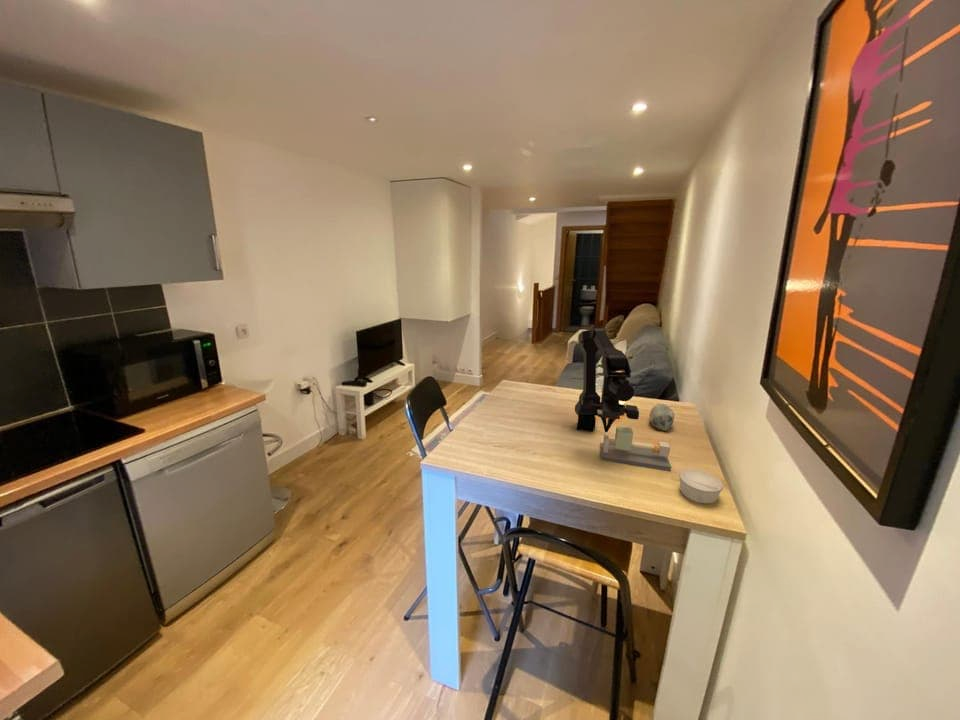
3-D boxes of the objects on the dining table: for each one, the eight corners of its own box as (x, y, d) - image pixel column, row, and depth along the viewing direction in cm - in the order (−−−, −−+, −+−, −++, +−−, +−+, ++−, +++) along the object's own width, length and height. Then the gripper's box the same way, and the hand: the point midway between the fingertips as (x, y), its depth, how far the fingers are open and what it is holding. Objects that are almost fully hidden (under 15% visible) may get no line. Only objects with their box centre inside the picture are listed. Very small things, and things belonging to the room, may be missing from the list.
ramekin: (689, 506, 107) (692, 490, 105) (669, 483, 118) (672, 468, 116) (728, 507, 107) (732, 491, 105) (705, 483, 118) (708, 468, 116)
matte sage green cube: (615, 448, 130) (617, 431, 128) (614, 442, 134) (616, 425, 132) (630, 450, 128) (633, 433, 127) (629, 444, 133) (631, 427, 131)
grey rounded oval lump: (678, 428, 146) (669, 403, 148) (653, 434, 151) (644, 410, 152) (678, 423, 159) (669, 400, 160) (655, 428, 163) (646, 406, 164)
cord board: (600, 460, 129) (602, 442, 128) (599, 446, 139) (601, 429, 137) (670, 471, 124) (673, 452, 122) (664, 455, 133) (668, 438, 131)
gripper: (582, 395, 122) (577, 438, 126) (643, 402, 117) (637, 447, 122) (582, 383, 132) (578, 424, 137) (639, 390, 127) (633, 431, 132)
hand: (606, 431), depth 131 cm, fingers closed
